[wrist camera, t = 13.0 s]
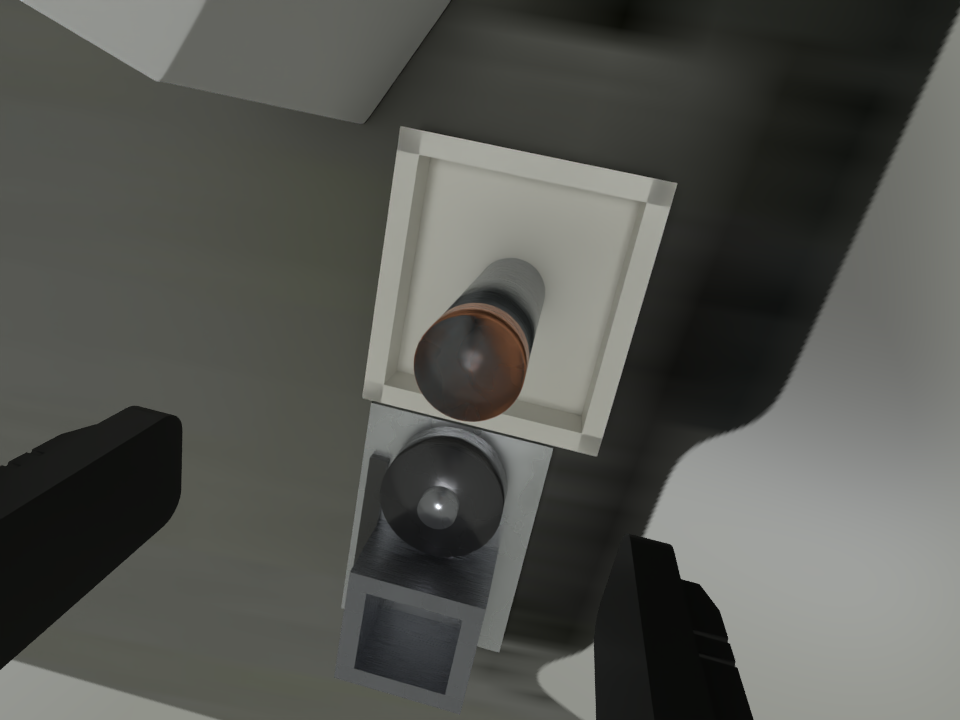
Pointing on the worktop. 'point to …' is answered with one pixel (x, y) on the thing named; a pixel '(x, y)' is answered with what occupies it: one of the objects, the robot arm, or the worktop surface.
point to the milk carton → (261, 46)
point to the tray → (527, 236)
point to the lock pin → (482, 343)
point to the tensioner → (434, 552)
